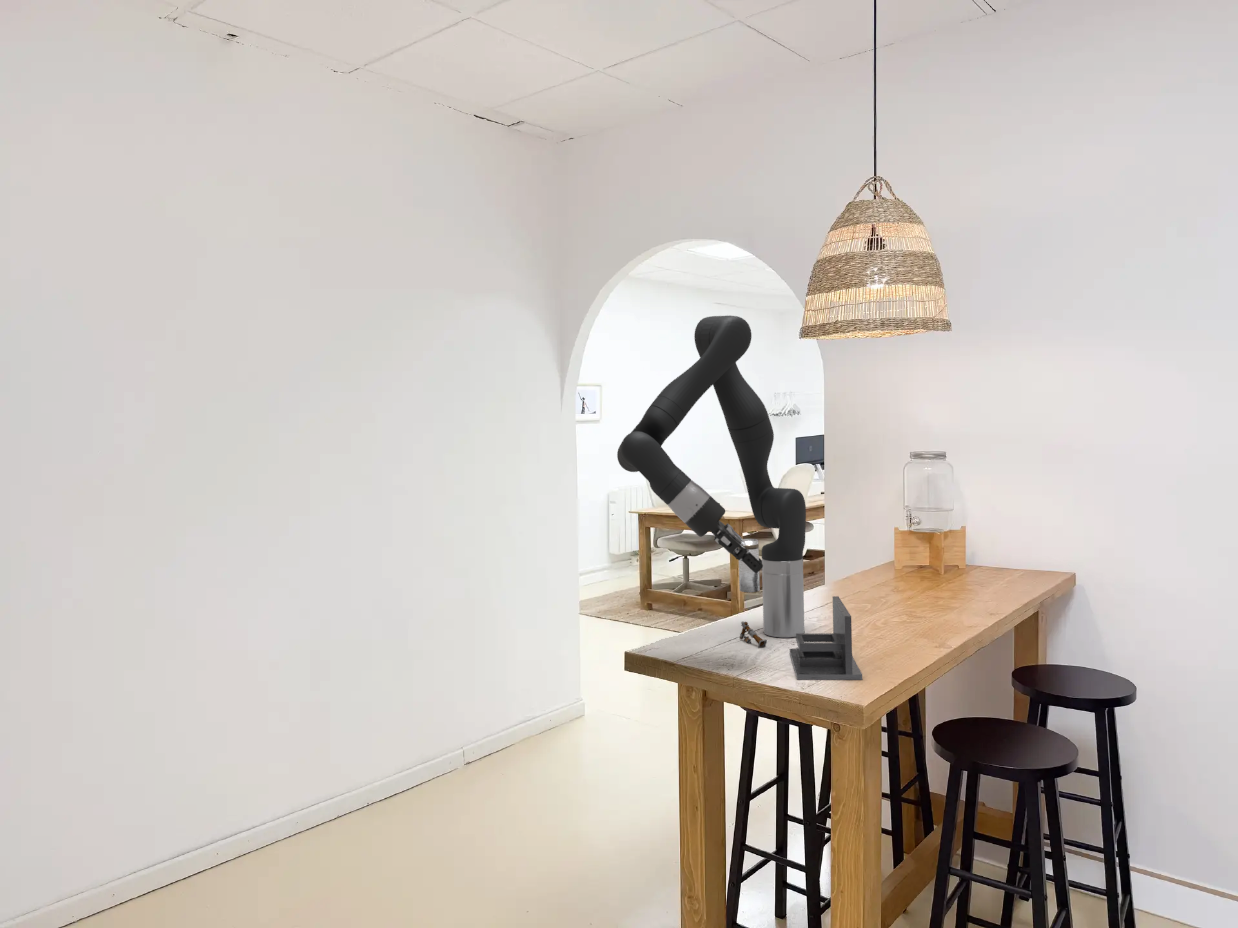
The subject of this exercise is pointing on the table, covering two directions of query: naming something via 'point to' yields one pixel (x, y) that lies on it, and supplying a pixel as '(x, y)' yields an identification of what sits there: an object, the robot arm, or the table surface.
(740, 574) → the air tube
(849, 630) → the collar stand
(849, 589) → the table surface
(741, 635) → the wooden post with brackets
